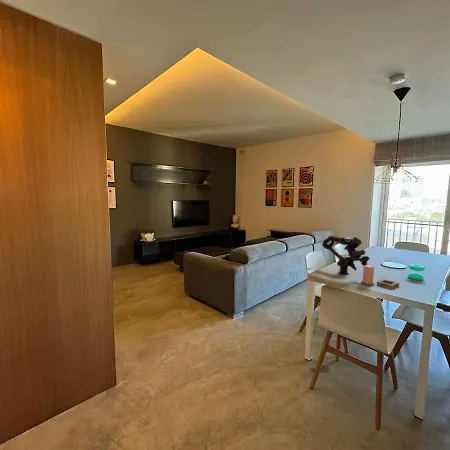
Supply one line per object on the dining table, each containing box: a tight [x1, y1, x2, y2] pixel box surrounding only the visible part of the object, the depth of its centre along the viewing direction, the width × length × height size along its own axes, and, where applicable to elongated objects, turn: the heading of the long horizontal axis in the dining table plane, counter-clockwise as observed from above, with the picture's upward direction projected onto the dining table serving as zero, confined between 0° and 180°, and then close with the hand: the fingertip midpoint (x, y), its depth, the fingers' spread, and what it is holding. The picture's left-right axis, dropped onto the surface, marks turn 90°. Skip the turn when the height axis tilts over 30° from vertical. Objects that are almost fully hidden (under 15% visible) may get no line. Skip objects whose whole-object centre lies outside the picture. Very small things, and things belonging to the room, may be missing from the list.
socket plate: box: [376, 278, 400, 290], centre depth 181 cm, size 10×10×2 cm
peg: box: [361, 264, 375, 284], centre depth 183 cm, size 5×5×12 cm
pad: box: [360, 280, 375, 287], centre depth 184 cm, size 8×8×1 cm
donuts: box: [407, 263, 426, 281], centre depth 197 cm, size 10×10×10 cm
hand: (361, 269), depth 189 cm, fingers open, 9 cm apart
